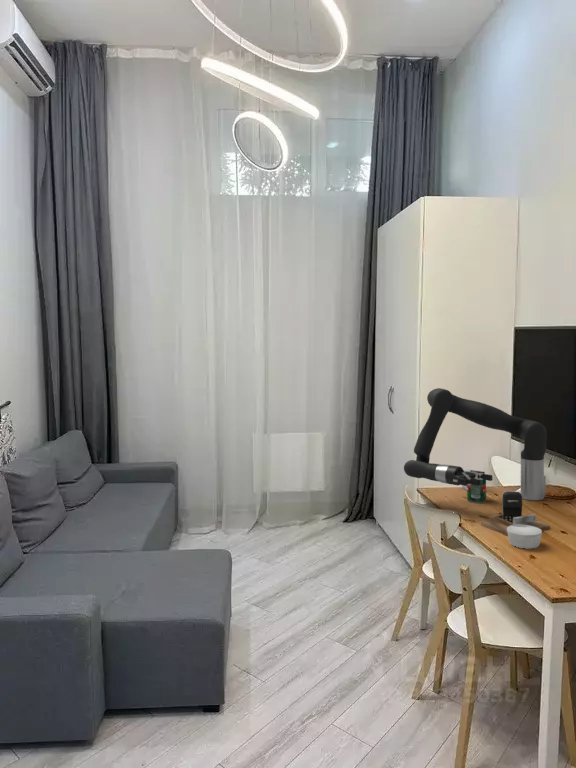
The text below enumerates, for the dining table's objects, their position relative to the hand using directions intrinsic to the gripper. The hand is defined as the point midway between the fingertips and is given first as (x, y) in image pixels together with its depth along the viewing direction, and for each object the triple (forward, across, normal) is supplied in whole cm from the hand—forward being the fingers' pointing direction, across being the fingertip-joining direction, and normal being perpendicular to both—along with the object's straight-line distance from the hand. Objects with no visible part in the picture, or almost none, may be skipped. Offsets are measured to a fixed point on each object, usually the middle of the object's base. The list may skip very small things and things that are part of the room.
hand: (486, 480), depth 225 cm
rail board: (+11, -1, +16) cm, 19 cm away
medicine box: (-26, +33, +16) cm, 45 cm away
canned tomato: (-16, +20, +16) cm, 30 cm away
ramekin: (+22, -16, +16) cm, 31 cm away
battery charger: (+10, -1, +14) cm, 18 cm away
